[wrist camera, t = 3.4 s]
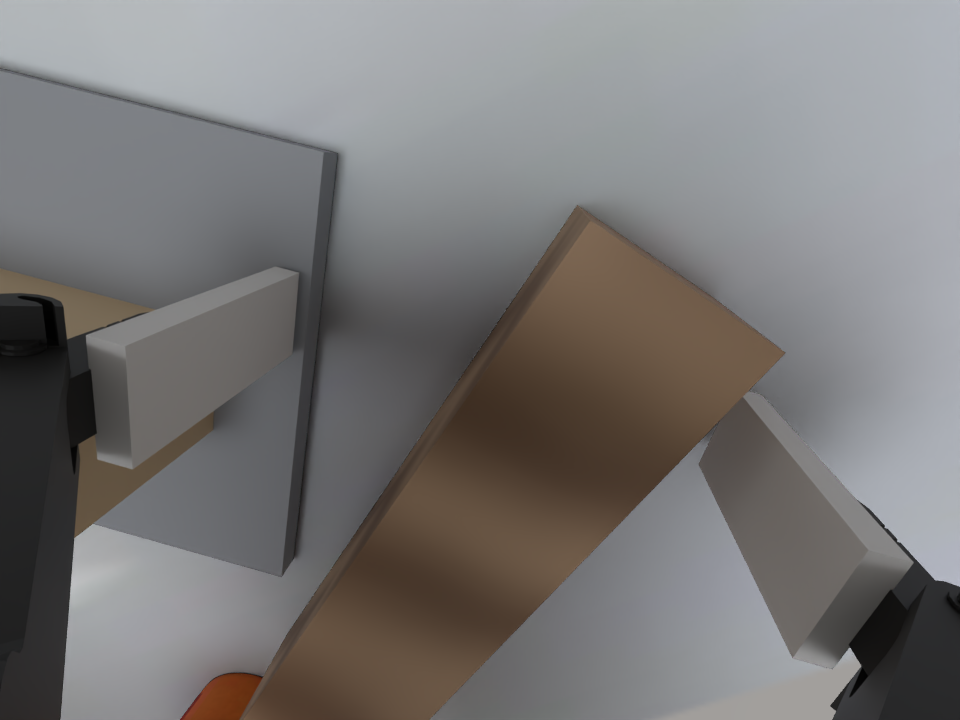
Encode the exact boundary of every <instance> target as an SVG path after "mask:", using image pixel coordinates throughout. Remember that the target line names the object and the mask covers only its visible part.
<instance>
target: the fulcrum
mask: <svg viewBox="0 0 960 720" xmlns="http://www.w3.org/2000/svg"><path fill="white" fill-rule="evenodd" d="M337 156H338V153H335V152H331V151H327V150H323V149H319V148H315V147H311V146H307V145H303V144H299V143H295V142H291V141H287V140H283V139H279V138H275V137H271V136H267V135H263V134H259V133H255V132H251V131H247V130H243V129H239V128H235V127H231V126H227V125H223V124H219V123H215V122H211V121H207V120H203V119H200V118H196V117H192V116H188V115H184V114H180V113H176V112H172V111H168V110H164V109H160V108H156V107H152V106H148V105H144V104H140V103H136V102H132V101H128V100H124V99H120V98H116V97H112V96H108V95H104V94H100V93H96V92H92V91H88V90H84V89H80V88H76V87H72V86H68V85H64V84H60V83H56V82H52V81H48V80H44V79H40V78H36V77H32V76H29V75H25V74H21V73H17V72H13V71H9V70H5V69H1V68H0V294H4V293H26V294H38V295H43V296H48V297H52V298H54V299H56V300H59V301H61V303H62V305H63V307H64V316H65V325H66V334H67V339H69V338H72V337H75V336H78V335H81V334H83V333H86V332H89V331H92V330H95V329H97V328H100V327H106V326H107V325H109V324H111V323H114V322H117V321H120V322H121V321H122V320H123V319H125V318H128V317H131V316H134V315H137V314H139V313H145V312H151V311H154V310H157V309H160V308H162V307H165V306H168V305H171V304H173V303H176V302H179V301H182V300H184V299H187V298H190V297H193V296H195V295H198V294H201V293H204V292H206V291H209V290H212V289H215V288H217V287H220V286H223V285H226V284H228V283H231V282H234V281H237V280H240V279H242V278H245V277H248V276H251V275H253V274H256V273H259V272H262V271H264V270H267V269H270V268H273V267H279V268H283V269H287V270H291V271H294V272H298V273H299V281H298V293H297V305H296V316H295V328H294V340H293V352H292V355H290V356H289V357H288V358H286V359H285V360H284V361H282V362H281V363H279V364H278V365H277V366H275V367H274V368H272V369H271V370H270V371H268V372H267V373H266V374H264V375H263V376H261V377H260V378H259V379H257V380H256V381H254V382H253V383H252V384H250V385H249V386H248V387H246V388H245V389H243V390H242V391H241V392H239V393H238V394H236V395H235V396H234V397H232V398H231V399H230V400H228V401H227V402H225V403H224V404H223V405H221V406H220V407H218V408H217V409H216V410H214V411H213V412H212V413H210V414H209V415H207V416H206V417H205V418H203V419H202V420H200V421H199V422H198V423H196V424H195V425H194V426H192V427H191V428H189V429H188V430H187V431H185V432H184V433H182V434H181V435H180V436H178V437H177V438H176V439H174V440H173V441H171V442H170V443H169V444H167V445H166V446H164V447H163V448H162V449H160V450H159V451H158V452H156V453H155V454H153V455H152V456H151V457H149V458H148V459H146V460H145V461H144V462H142V463H141V464H140V465H138V466H137V467H135V468H134V469H129V468H126V467H122V466H119V465H115V464H112V463H108V462H105V461H101V460H98V459H97V451H96V440H95V435H93V436H92V437H90V438H88V439H87V440H85V441H83V442H81V443H80V444H79V453H80V469H79V482H78V495H77V508H76V521H75V535H74V538H75V537H76V536H78V535H79V534H80V533H82V532H83V531H84V530H85V529H87V528H88V527H89V526H91V525H92V524H95V525H99V526H102V527H106V528H110V529H113V530H117V531H120V532H124V533H127V534H131V535H134V536H138V537H141V538H145V539H149V540H152V541H156V542H159V543H163V544H166V545H170V546H173V547H177V548H180V549H184V550H188V551H191V552H195V553H198V554H202V555H205V556H209V557H212V558H216V559H219V560H223V561H227V562H230V563H234V564H237V565H241V566H244V567H248V568H251V569H255V570H258V571H262V572H266V573H269V574H273V575H276V576H280V577H282V575H283V574H284V572H285V571H286V569H287V568H288V566H289V565H290V563H291V562H292V560H293V558H294V549H295V540H296V531H297V522H298V512H299V503H300V494H301V485H302V476H303V467H304V458H305V448H306V439H307V430H308V421H309V412H310V403H311V394H312V385H313V375H314V366H315V357H316V348H317V339H318V330H319V321H320V312H321V302H322V293H323V284H324V275H325V266H326V257H327V248H328V238H329V229H330V220H331V211H332V202H333V193H334V184H335V175H336V165H337Z"/></svg>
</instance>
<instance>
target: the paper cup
mask: <svg viewBox="0 0 960 720" xmlns="http://www.w3.org/2000/svg"><path fill="white" fill-rule="evenodd" d="M261 680H262V677H259V676H256V675H251V674H245V673H230V674H224V675H221V676H219V677H216V678H215V679H213V680H212V681H211V682H210V683H209V684H208V685H207V686H206V687H205V688H204V689H203V690H202V692H201V693H200V694H199V695H198V697H197V698H196V699H195V700H194V702H193V703H192V704H191V706H190V707H189V708H188V710H187V711H186V712H185V714H184V715H183V716H182V718H181V719H180V720H239V719H240V717H241V716H242V714H243V712H244V710H245V709H246V707H247V705H248V703H249V701H250V700H251V698H252V696H253V694H254V693H255V691H256V689H257V687H258V685H259V684H260V682H261Z"/></svg>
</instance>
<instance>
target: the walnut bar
mask: <svg viewBox="0 0 960 720" xmlns="http://www.w3.org/2000/svg"><path fill="white" fill-rule="evenodd" d="M784 354H785V352H784V351H782V350H781V349H780V348H779V347H777V346H776V345H775V344H773V343H772V342H771V341H769V340H768V339H767V338H765V337H764V336H763V335H762V334H760V333H759V332H758V331H756V330H755V329H754V328H752V327H751V326H750V325H748V324H747V323H746V322H745V321H743V320H742V319H741V318H739V317H738V316H737V315H735V314H734V313H733V312H731V311H730V310H729V309H727V308H726V307H725V306H724V305H722V304H721V303H720V302H718V301H717V300H716V299H714V298H713V297H711V296H710V295H708V294H707V293H705V292H704V291H703V290H701V289H700V288H698V287H697V286H695V285H694V284H692V283H691V282H689V281H688V280H686V279H685V278H683V277H682V276H680V275H679V274H678V273H676V272H675V271H673V270H672V269H670V268H669V267H667V266H666V265H664V264H663V263H661V262H660V261H658V260H657V259H656V258H654V257H653V256H651V255H650V254H648V253H647V252H645V251H644V250H642V249H641V248H639V247H638V246H636V245H635V244H633V243H632V242H631V241H629V240H628V239H626V238H625V237H623V236H622V235H620V234H619V233H617V232H616V231H614V230H613V229H611V228H610V227H608V226H607V225H606V224H604V223H603V222H601V221H600V220H598V219H597V218H595V217H594V216H592V215H591V214H589V213H588V212H586V211H585V210H583V209H582V208H581V207H579V206H578V205H577V206H576V208H575V209H574V211H573V212H572V214H571V215H570V217H569V218H568V220H567V221H566V223H565V224H564V226H563V227H562V229H561V230H560V232H559V233H558V235H557V236H556V237H555V239H554V240H553V242H552V243H551V245H550V246H549V248H548V249H547V251H546V252H545V254H544V255H543V257H542V258H541V260H540V261H539V263H538V264H537V266H536V267H535V269H534V270H533V271H532V273H531V274H530V276H529V277H528V279H527V280H526V282H525V283H524V285H523V286H522V288H521V289H520V291H519V292H518V294H517V295H516V297H515V298H514V300H513V301H512V303H511V304H510V306H509V307H508V308H507V310H506V311H505V313H504V314H503V316H502V317H501V319H500V320H499V322H498V323H497V325H496V326H495V328H494V329H493V331H492V332H491V334H490V335H489V337H488V338H487V340H486V341H485V342H484V344H483V345H482V347H481V348H480V350H479V351H478V353H477V354H476V356H475V357H474V359H473V360H472V362H471V363H470V365H469V366H468V368H467V369H466V371H465V372H464V374H463V375H462V376H461V378H460V379H459V381H458V382H457V384H456V385H455V387H454V388H453V390H452V391H451V393H450V394H449V396H448V397H447V399H446V400H445V402H444V403H443V405H442V406H441V408H440V409H439V410H438V412H437V413H436V415H435V416H434V418H433V419H432V421H431V422H430V424H429V425H428V427H427V428H426V430H425V431H424V433H423V434H422V436H421V437H420V439H419V440H418V442H417V443H416V444H415V446H414V447H413V449H412V450H411V452H410V453H409V455H408V456H407V458H406V459H405V461H404V462H403V464H402V465H401V467H400V468H399V470H398V471H397V473H396V474H395V476H394V477H393V479H392V480H391V481H390V483H389V484H388V486H387V487H386V489H385V490H384V492H383V493H382V495H381V496H380V498H379V499H378V501H377V502H376V504H375V505H374V507H373V508H372V510H371V511H370V513H369V514H368V515H367V517H366V518H365V520H364V521H363V523H362V524H361V526H360V527H359V529H358V530H357V532H356V533H355V535H354V536H353V538H352V539H351V541H350V542H349V544H348V545H347V547H346V548H345V549H344V551H343V552H342V554H341V555H340V557H339V558H338V560H337V561H336V563H335V564H334V566H333V567H332V569H331V570H330V572H329V573H328V575H327V576H326V578H325V579H324V581H323V582H322V583H321V585H320V586H319V588H318V589H317V591H316V592H315V594H314V595H313V597H312V598H311V600H310V601H309V603H308V604H307V606H306V607H305V609H304V610H303V612H302V613H301V615H300V616H299V617H298V619H297V620H296V622H295V623H294V625H293V626H292V628H291V629H290V631H289V632H288V634H287V635H286V637H285V639H284V641H283V643H282V644H281V646H280V648H279V650H278V651H277V653H276V655H275V657H274V659H273V660H272V662H271V664H270V666H269V668H268V669H267V671H266V673H265V675H264V676H263V678H262V680H261V682H260V684H259V685H258V687H257V689H256V691H255V693H254V694H253V696H252V698H251V700H250V701H249V703H248V705H247V707H246V709H245V710H244V712H243V714H242V716H241V717H240V719H239V720H429V719H430V718H431V717H432V716H433V715H434V714H435V713H436V712H437V711H438V710H439V709H440V708H441V707H442V706H443V705H444V704H445V703H446V702H447V701H448V700H449V699H450V698H451V697H452V696H453V695H454V694H455V693H456V692H457V690H458V689H459V688H460V687H461V686H462V685H463V684H464V683H465V682H466V681H467V680H468V679H469V678H470V677H471V676H472V675H473V674H474V673H475V672H476V671H477V670H478V669H479V668H480V667H481V666H482V665H483V664H484V663H485V662H486V661H487V660H488V659H489V658H490V657H491V655H492V654H493V653H494V652H495V651H496V650H497V649H498V648H499V647H500V646H501V645H502V644H503V643H504V642H505V641H506V640H507V639H508V638H509V637H510V636H511V635H512V634H513V633H514V632H515V631H516V630H517V629H518V628H519V627H520V626H521V625H522V624H523V623H524V622H525V620H526V619H527V618H528V617H529V616H530V615H531V614H532V613H533V612H534V611H535V610H536V609H537V608H538V607H539V606H540V605H541V604H542V603H543V602H544V601H545V600H546V599H547V598H548V597H549V596H550V595H551V594H552V593H553V592H554V591H555V590H556V589H557V588H558V587H559V585H560V584H561V583H562V582H563V581H564V580H565V579H566V578H567V577H568V576H569V575H570V574H571V573H572V572H573V571H574V570H575V569H576V568H577V567H578V566H579V565H580V564H581V563H582V562H583V561H584V560H585V559H586V558H587V557H588V556H589V555H590V554H591V553H592V552H593V550H594V549H595V548H596V547H597V546H598V545H599V544H600V543H601V542H602V541H603V540H604V539H605V538H606V537H607V536H608V535H609V534H610V533H611V532H612V531H613V530H614V529H615V528H616V527H617V526H618V525H619V524H620V523H621V522H622V521H623V520H624V519H625V518H626V517H627V516H628V514H629V513H630V512H631V511H632V510H633V509H634V508H635V507H636V506H637V505H638V504H639V503H640V502H641V501H642V500H643V499H644V498H645V497H646V496H647V495H648V494H649V493H650V492H651V491H652V490H653V489H654V488H655V487H656V486H657V485H658V484H659V483H660V482H661V481H662V479H663V478H664V477H665V476H666V475H667V474H668V473H669V472H670V471H671V470H672V469H673V468H674V467H675V466H676V465H677V464H678V463H679V462H680V461H681V460H682V459H683V458H684V457H685V456H686V455H687V454H688V453H689V452H690V451H691V450H692V449H693V448H694V447H695V446H696V444H697V443H698V442H699V441H700V440H701V439H702V438H703V437H704V436H705V435H706V434H707V433H708V432H709V431H710V430H711V429H712V428H713V427H714V426H715V425H716V424H717V423H718V422H719V421H720V420H721V419H722V418H723V417H724V416H725V415H726V414H727V413H728V412H729V411H730V409H731V408H732V407H733V406H734V405H735V404H736V403H737V402H738V401H739V400H740V399H741V398H742V397H743V396H744V395H745V394H746V393H747V392H748V391H749V390H750V389H751V388H752V387H753V386H754V385H755V384H756V383H757V382H758V381H759V380H760V379H761V378H762V377H763V376H764V374H765V373H766V372H767V371H768V370H769V369H770V368H771V367H772V366H773V365H774V364H775V363H776V362H777V361H778V360H779V359H780V358H781V357H782V356H783V355H784Z"/></svg>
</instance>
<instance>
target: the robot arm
mask: <svg viewBox="0 0 960 720" xmlns="http://www.w3.org/2000/svg"><path fill="white" fill-rule="evenodd" d="M298 281H299V273H298V272H294V271H291V270H287V269H283V268H279V267H273V268H270V269H267V270H264V271H262V272H259V273H256V274H253V275H251V276H248V277H245V278H242V279H240V280H237V281H234V282H231V283H228V284H226V285H223V286H220V287H217V288H215V289H212V290H209V291H206V292H204V293H201V294H198V295H195V296H193V297H190V298H187V299H184V300H182V301H179V302H176V303H173V304H171V305H168V306H165V307H162V308H160V309H157V310H154V311H151V312H145V313H139V314H137V315H134V316H131V317H128V318H125V319H123V320H122V321H121V322H120V321H117V322H114V323H111V324H109V325H107V326H106V327H100V328H97V329H95V330H92V331H89V332H86V333H83V334H81V335H78V336H75V337H72V338H69V339H67V334H66V325H65V316H64V307H63V305H62V303H61V301H59V300H56V299H54V298H52V297H48V296H43V295H38V294H26V293H4V294H0V720H60V717H61V704H62V691H63V678H64V665H65V652H66V639H67V626H68V613H69V600H70V587H71V574H72V561H73V548H74V535H75V521H76V508H77V495H78V482H79V469H80V453H79V444H80V443H81V442H83V441H85V440H87V439H88V438H90V437H92V436H93V435H95V440H96V451H97V459H98V460H101V461H105V462H108V463H112V464H115V465H119V466H122V467H126V468H129V469H134V468H135V467H137V466H138V465H140V464H141V463H142V462H144V461H145V460H146V459H148V458H149V457H151V456H152V455H153V454H155V453H156V452H158V451H159V450H160V449H162V448H163V447H164V446H166V445H167V444H169V443H170V442H171V441H173V440H174V439H176V438H177V437H178V436H180V435H181V434H182V433H184V432H185V431H187V430H188V429H189V428H191V427H192V426H194V425H195V424H196V423H198V422H199V421H200V420H202V419H203V418H205V417H206V416H207V415H209V414H210V413H212V412H213V411H214V410H216V409H217V408H218V407H220V406H221V405H223V404H224V403H225V402H227V401H228V400H230V399H231V398H232V397H234V396H235V395H236V394H238V393H239V392H241V391H242V390H243V389H245V388H246V387H248V386H249V385H250V384H252V383H253V382H254V381H256V380H257V379H259V378H260V377H261V376H263V375H264V374H266V373H267V372H268V371H270V370H271V369H272V368H274V367H275V366H277V365H278V364H279V363H281V362H282V361H284V360H285V359H286V358H288V357H289V356H290V355H292V352H293V340H294V328H295V316H296V305H297V293H298ZM699 466H700V468H701V470H702V472H703V475H704V477H705V479H706V481H707V483H708V485H709V487H710V489H711V491H712V493H713V495H714V497H715V499H716V501H717V503H718V505H719V507H720V510H721V512H722V514H723V516H724V518H725V520H726V522H727V524H728V526H729V528H730V530H731V532H732V534H733V536H734V538H735V540H736V543H737V545H738V547H739V549H740V551H741V553H742V555H743V557H744V559H745V561H746V563H747V565H748V567H749V569H750V571H751V573H752V575H753V578H754V580H755V582H756V584H757V586H758V588H759V590H760V592H761V594H762V596H763V598H764V600H765V602H766V604H767V606H768V608H769V610H770V613H771V615H772V617H773V619H774V621H775V623H776V625H777V627H778V629H779V631H780V633H781V635H782V637H783V639H784V641H785V643H786V646H787V648H788V650H789V652H790V654H791V656H792V658H794V659H798V660H801V661H805V662H808V663H812V664H815V665H819V666H822V667H826V668H829V669H833V668H834V667H835V666H836V664H837V663H838V662H839V660H840V659H841V658H842V656H843V655H844V654H845V652H846V651H847V650H848V648H849V647H850V648H851V649H852V651H853V653H854V654H855V656H856V658H857V659H858V661H859V662H860V664H861V668H860V669H859V670H858V672H857V673H856V674H855V675H854V677H853V678H852V679H851V680H850V682H849V683H848V684H847V685H846V687H845V688H844V689H843V691H842V692H841V693H840V694H839V696H838V697H837V698H836V699H835V700H834V702H833V703H832V704H831V707H832V708H833V709H834V710H836V713H835V715H834V717H833V719H832V720H960V587H959V586H956V585H953V584H950V583H947V582H944V581H935V580H934V579H933V578H932V576H931V575H930V574H929V573H928V572H927V571H926V570H925V569H924V568H923V567H922V566H921V565H920V563H919V562H918V561H917V560H916V559H915V558H914V557H913V556H912V555H911V554H910V553H909V551H908V550H907V549H906V548H905V547H904V546H903V545H902V544H901V543H899V542H897V538H896V537H895V536H894V535H893V534H892V533H891V532H890V531H889V530H888V529H886V528H884V527H885V525H884V524H883V523H882V522H881V521H880V520H879V519H878V518H877V517H876V516H875V515H874V513H873V512H872V511H871V510H870V509H869V508H867V507H866V506H865V505H863V504H862V503H861V502H859V501H858V500H857V499H856V498H855V497H854V496H853V495H852V494H851V493H850V492H849V491H848V490H847V489H846V487H845V486H844V485H843V484H842V483H841V482H840V481H839V480H838V479H837V478H836V476H835V475H834V474H833V473H832V472H831V471H830V470H829V469H828V468H827V467H826V465H825V464H824V463H823V462H822V461H821V460H820V459H819V458H818V457H817V455H816V454H815V453H814V452H813V451H812V450H811V449H810V448H809V447H808V446H807V444H806V443H805V442H804V441H803V440H802V439H801V438H800V437H799V436H798V435H797V433H796V432H795V431H794V430H793V429H792V428H791V427H790V426H789V425H788V424H787V422H786V421H785V420H784V419H783V418H782V417H781V416H780V415H779V414H778V413H777V411H776V410H775V409H774V408H773V407H772V406H771V405H770V404H769V403H768V401H767V400H766V399H765V398H764V397H763V396H762V395H761V394H757V393H753V392H749V391H748V392H747V393H746V394H745V395H744V396H743V397H742V398H741V399H740V400H739V401H738V402H737V403H736V404H735V405H734V406H733V407H732V408H731V409H730V411H729V412H728V413H727V414H726V415H725V416H724V417H723V418H722V419H721V420H720V421H719V423H718V425H717V427H716V429H715V431H714V433H713V436H712V438H711V440H710V442H709V444H708V446H707V448H706V450H705V452H704V454H703V456H702V458H701V460H700V462H699Z"/></svg>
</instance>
